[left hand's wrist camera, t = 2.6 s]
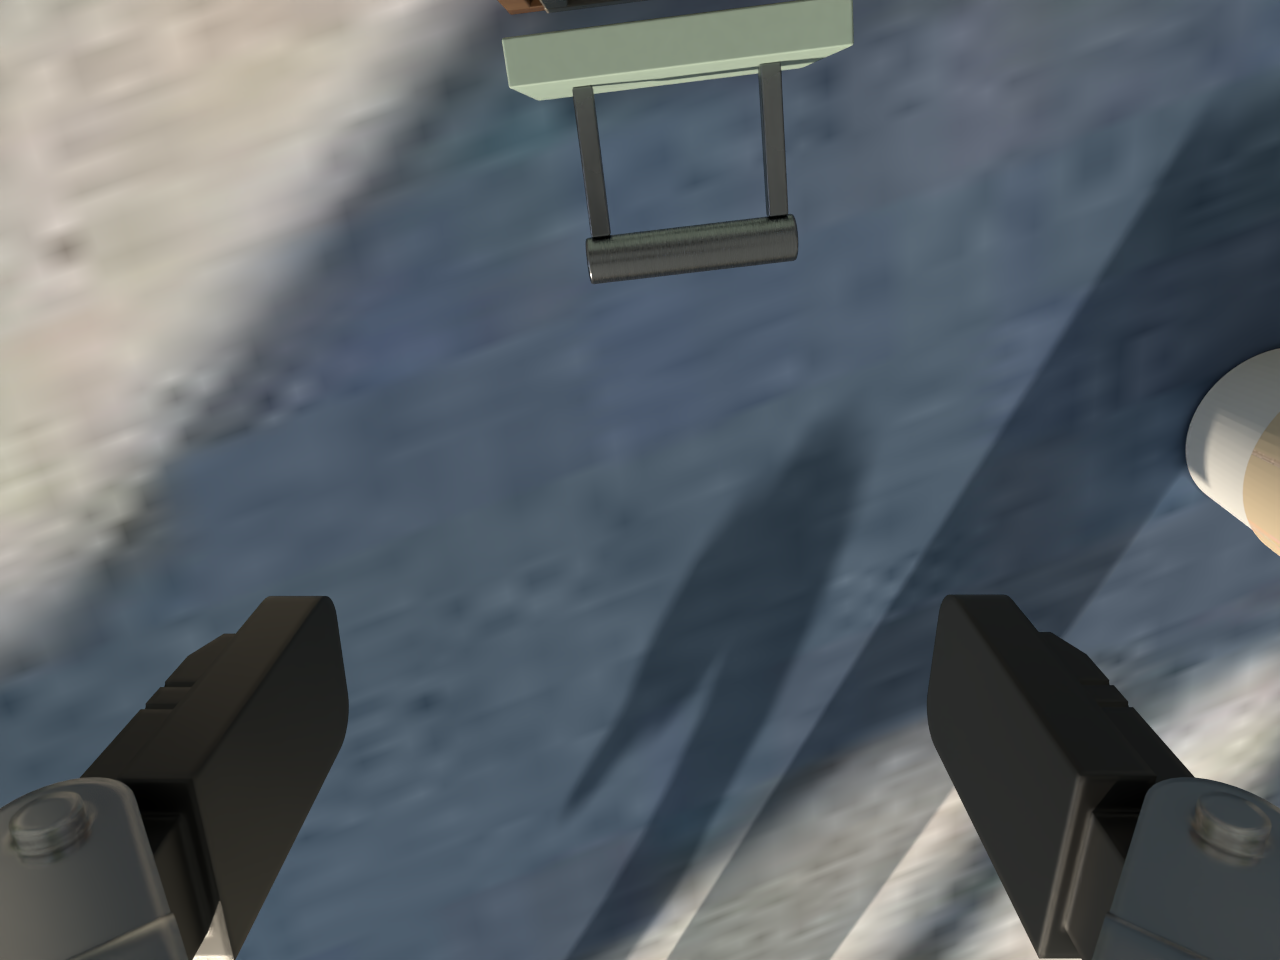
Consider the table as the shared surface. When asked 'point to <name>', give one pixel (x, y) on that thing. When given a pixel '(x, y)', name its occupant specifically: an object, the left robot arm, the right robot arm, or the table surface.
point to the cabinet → (522, 6)
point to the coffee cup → (1242, 445)
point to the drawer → (674, 57)
